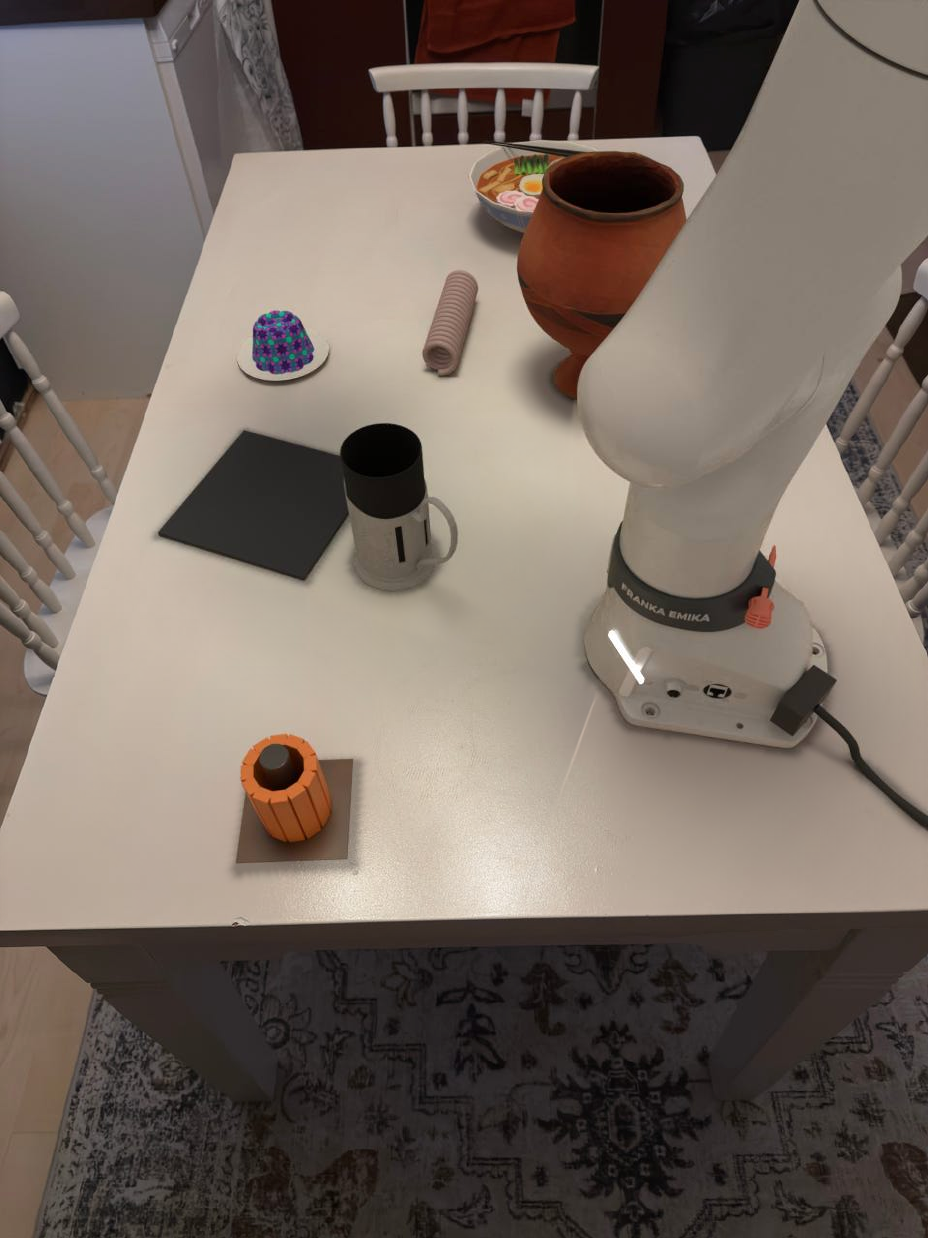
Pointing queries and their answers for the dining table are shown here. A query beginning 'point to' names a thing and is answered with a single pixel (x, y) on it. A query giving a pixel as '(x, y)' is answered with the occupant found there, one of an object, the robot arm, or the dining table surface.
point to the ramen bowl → (517, 177)
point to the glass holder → (390, 507)
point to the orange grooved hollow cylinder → (288, 791)
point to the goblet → (595, 247)
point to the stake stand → (318, 847)
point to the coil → (450, 322)
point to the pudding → (281, 348)
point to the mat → (265, 505)
